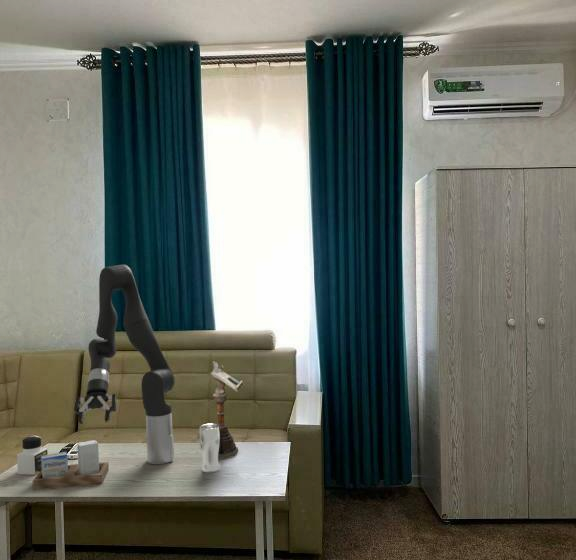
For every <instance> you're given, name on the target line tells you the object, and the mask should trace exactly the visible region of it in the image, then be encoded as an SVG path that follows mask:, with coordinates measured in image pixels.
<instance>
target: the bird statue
mask: <svg viewBox="0 0 576 560" xmlns="http://www.w3.org/2000/svg"><path fill="white" fill-rule="evenodd" d="M212 365H213V370H212V371H211V372H210V373H209V374H210V375H211V377H212V378H213V379H214V380H215V381H216V382H217V384H218V387H217V388H215V390H214V393H213V395H212V396H213V398H214V399H213V400H214V401H213V402H215V403H216V407H217V408H216V411H217V412H216V415H217V423H216V424H217V425H219V433H220V446H219V453H218V460H219V459H222V460H224V459H228V458H233V457H236V455H237V454H238V453H239V447H237V446H236V443H235V441H234V437H233V435H232V434H231V433H230V431H229V430H228V429H229V428H228V425H227V424H226V423H225V409H224V408H225V406H224V404H225V402H226V401H227V395H228V394H227V393H226V389H225V386H228V387H229V388H231V389H232V390H233V391H234V393H238V390H239V389H241V387H242V386H243V380H242V379H241V380H240V381H239V380H237V379H236V378H234V377H233V376H231V375H229V374H228V373H227V372H225V370H224V368H225V367H224V364H221V366H220V368H219V364H218V362H216V361H212Z"/></svg>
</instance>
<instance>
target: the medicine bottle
mask: <svg viewBox="0 0 576 560" xmlns="http://www.w3.org/2000/svg"><path fill="white" fill-rule="evenodd" d="M42 445H43V444H42V437H41V436H38V435H32V436H27V437H24V438H23V439H22V451H21V452H19V453H17V454H16V460H17V461H16V462H17V475H24V476H25V475H29V476H30V475H32V476H37V475H38V474H39V472H40V471H41V470H42V463H41V456H43V455H49V454H48V448H46V447H44V448H42Z"/></svg>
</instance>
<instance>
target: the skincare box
mask: <svg viewBox="0 0 576 560" xmlns="http://www.w3.org/2000/svg"><path fill="white" fill-rule="evenodd" d="M76 446H77V447H76V448H77V462H78V463H77V464H78V466H79V475H88V474H99V462H100V457H99V455H100V453H99V442H98V441H97V440H95V439H92V440H87V441H83V442H77V445H76Z"/></svg>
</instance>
